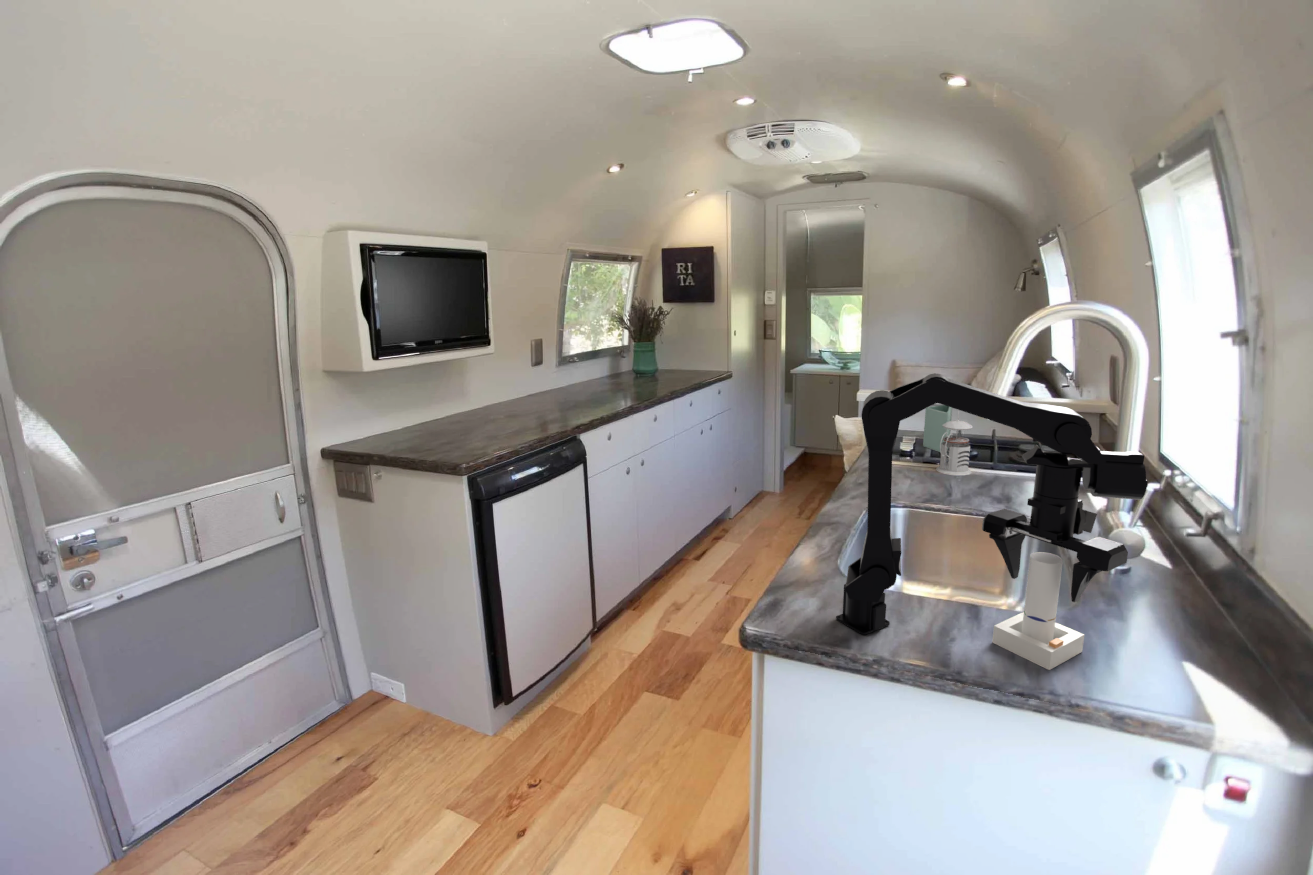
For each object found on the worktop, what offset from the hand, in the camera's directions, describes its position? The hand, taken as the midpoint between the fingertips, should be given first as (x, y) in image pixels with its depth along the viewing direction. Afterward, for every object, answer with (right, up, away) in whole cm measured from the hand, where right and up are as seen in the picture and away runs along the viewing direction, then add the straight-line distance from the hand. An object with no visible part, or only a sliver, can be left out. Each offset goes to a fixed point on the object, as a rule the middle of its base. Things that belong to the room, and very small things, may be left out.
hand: (1043, 589), depth 100 cm
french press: (+29, +13, +94) cm, 99 cm away
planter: (+35, +20, +121) cm, 128 cm away
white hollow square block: (0, -10, +2) cm, 10 cm away
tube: (0, -10, +2) cm, 10 cm away
